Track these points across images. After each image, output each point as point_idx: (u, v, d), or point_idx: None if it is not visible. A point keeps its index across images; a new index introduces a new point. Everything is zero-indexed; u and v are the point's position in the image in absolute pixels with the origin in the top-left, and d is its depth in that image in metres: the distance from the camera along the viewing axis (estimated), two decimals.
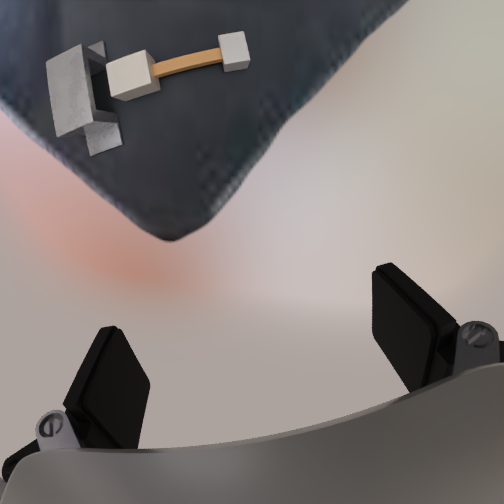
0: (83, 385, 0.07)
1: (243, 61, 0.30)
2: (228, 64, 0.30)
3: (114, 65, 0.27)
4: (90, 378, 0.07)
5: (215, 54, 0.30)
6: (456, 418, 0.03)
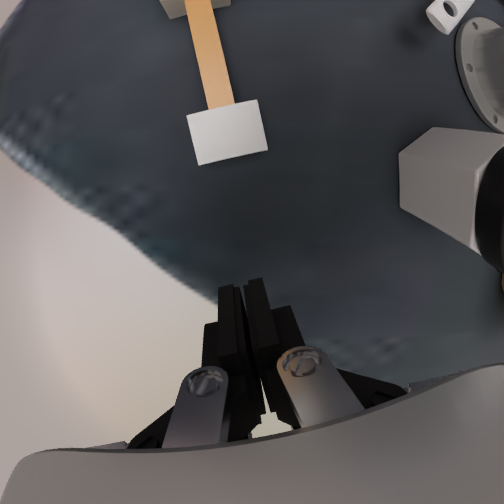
0: (235, 335, 0.08)
1: None
2: None
3: None
4: (236, 329, 0.08)
5: (219, 98, 0.16)
6: (456, 418, 0.03)
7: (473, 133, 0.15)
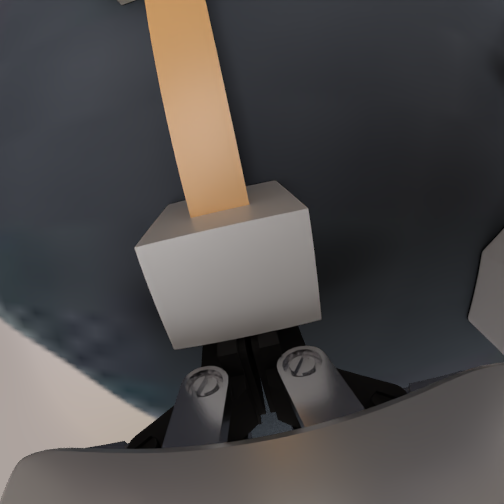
0: None
1: None
2: None
3: None
4: None
5: (212, 185, 0.08)
6: (456, 418, 0.03)
7: None
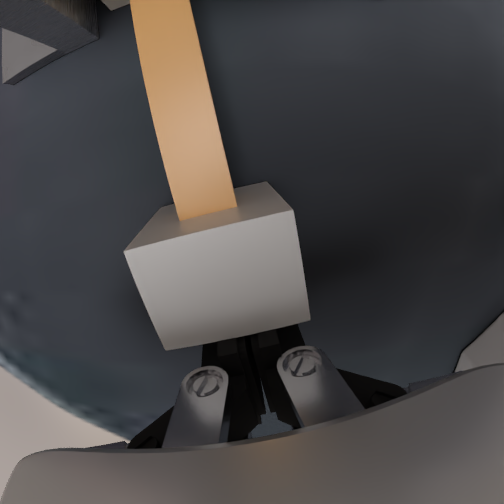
0: None
1: None
2: None
3: None
4: None
5: (199, 188, 0.08)
6: (456, 418, 0.03)
7: None
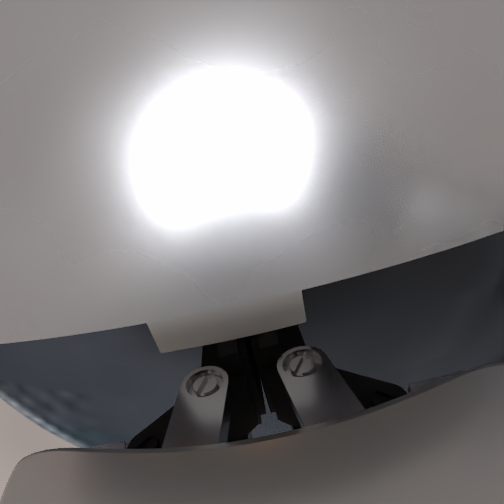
0: None
1: None
2: None
3: None
4: None
5: None
6: (456, 418, 0.03)
7: None
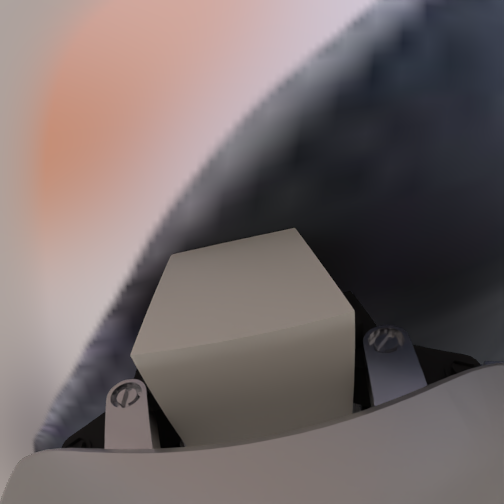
0: None
1: None
2: None
3: (325, 360, 0.06)
4: None
5: None
6: (456, 418, 0.03)
7: None
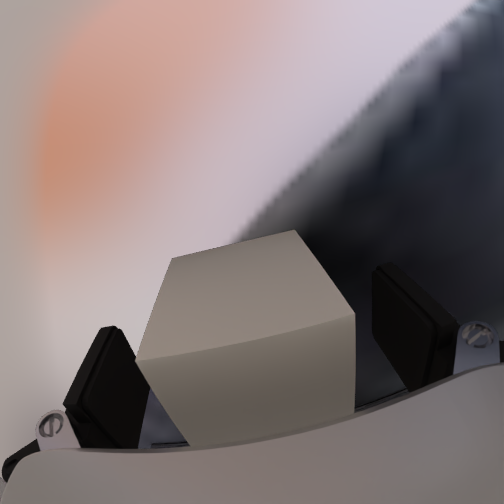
0: (84, 385, 0.07)
1: None
2: None
3: (326, 361, 0.06)
4: (90, 378, 0.07)
5: None
6: (456, 418, 0.03)
7: None
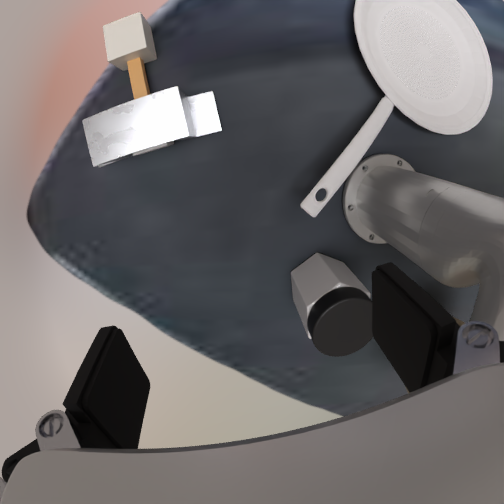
0: (83, 385, 0.07)
1: None
2: None
3: (135, 20, 0.23)
4: (90, 378, 0.07)
5: None
6: (456, 418, 0.03)
7: (326, 271, 0.35)
